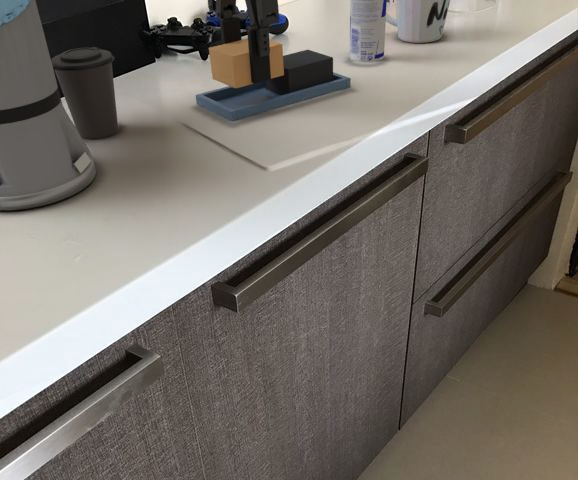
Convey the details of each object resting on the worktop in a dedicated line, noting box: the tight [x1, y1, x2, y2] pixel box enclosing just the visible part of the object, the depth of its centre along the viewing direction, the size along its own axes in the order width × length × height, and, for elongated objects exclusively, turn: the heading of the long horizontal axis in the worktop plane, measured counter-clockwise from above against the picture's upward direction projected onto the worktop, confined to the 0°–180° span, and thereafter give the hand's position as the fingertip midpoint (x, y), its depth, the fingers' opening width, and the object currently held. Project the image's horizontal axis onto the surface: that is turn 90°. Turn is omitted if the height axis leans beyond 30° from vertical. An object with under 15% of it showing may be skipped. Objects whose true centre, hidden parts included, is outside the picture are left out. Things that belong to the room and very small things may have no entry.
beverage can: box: [349, 0, 388, 63], centre depth 104 cm, size 6×6×15 cm
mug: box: [386, 0, 451, 44], centre depth 116 cm, size 10×15×10 cm
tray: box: [195, 71, 352, 122], centre depth 96 cm, size 21×10×2 cm, turn 126°
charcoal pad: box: [265, 49, 334, 96], centre depth 97 cm, size 8×6×4 cm
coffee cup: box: [51, 46, 119, 140], centre depth 86 cm, size 8×8×10 cm
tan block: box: [208, 37, 284, 89], centre depth 91 cm, size 8×6×4 cm
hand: (247, 75), depth 92 cm, fingers closed on tan block, 6 cm apart
